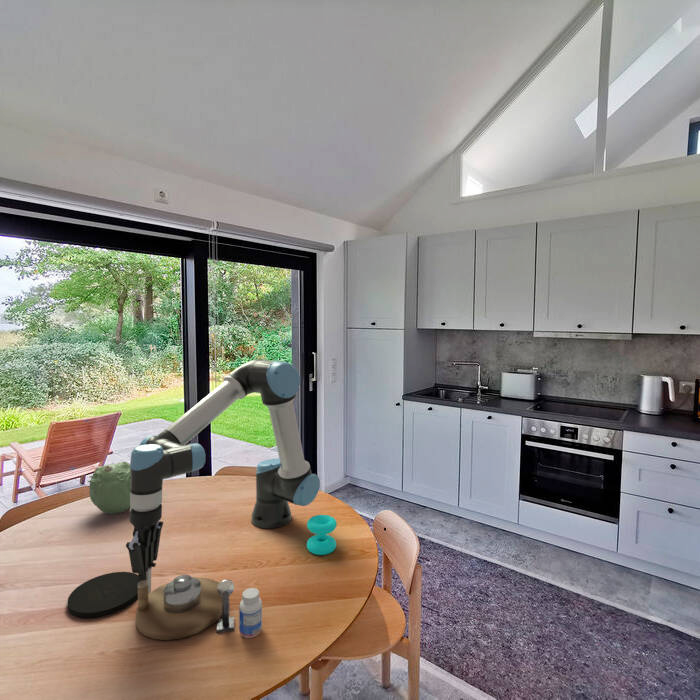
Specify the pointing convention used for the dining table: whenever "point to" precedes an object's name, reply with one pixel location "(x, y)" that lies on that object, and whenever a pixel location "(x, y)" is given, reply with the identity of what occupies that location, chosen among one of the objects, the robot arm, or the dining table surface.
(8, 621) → the dining table surface
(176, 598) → the cover
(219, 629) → the dial post
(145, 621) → the turntable
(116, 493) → the cabbage
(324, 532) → the donuts
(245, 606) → the pill bottle
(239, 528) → the dining table surface
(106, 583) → the wireless charger
